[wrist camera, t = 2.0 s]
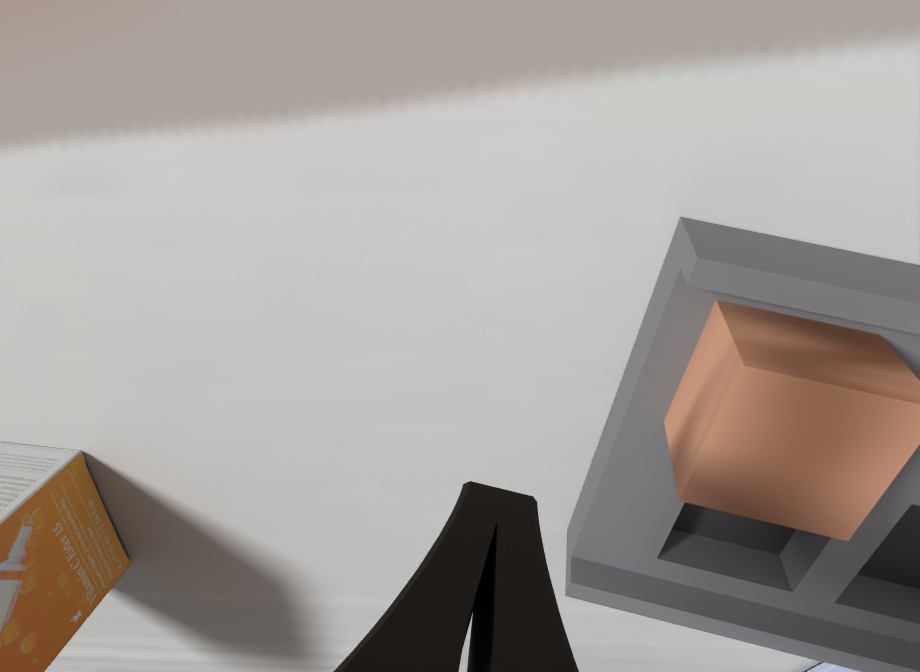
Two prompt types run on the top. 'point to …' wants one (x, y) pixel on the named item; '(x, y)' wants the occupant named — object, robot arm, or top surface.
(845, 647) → the grey divided tray
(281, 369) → the top surface
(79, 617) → the small box
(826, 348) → the block
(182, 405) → the top surface
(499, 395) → the top surface
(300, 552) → the top surface
